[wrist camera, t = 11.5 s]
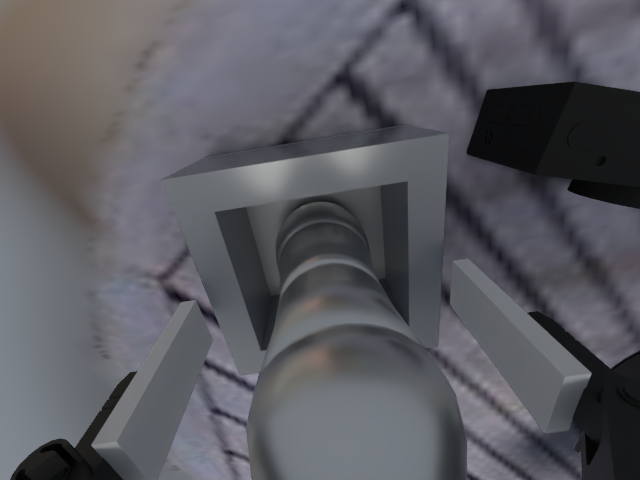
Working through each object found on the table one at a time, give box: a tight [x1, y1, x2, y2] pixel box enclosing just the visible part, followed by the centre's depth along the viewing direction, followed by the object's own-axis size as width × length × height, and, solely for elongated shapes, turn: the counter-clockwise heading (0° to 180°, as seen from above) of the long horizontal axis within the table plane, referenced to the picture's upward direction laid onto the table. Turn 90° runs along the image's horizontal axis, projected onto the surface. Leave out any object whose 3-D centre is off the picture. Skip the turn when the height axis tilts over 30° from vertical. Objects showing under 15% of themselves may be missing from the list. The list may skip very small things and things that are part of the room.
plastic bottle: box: [246, 201, 467, 480], centre depth 13 cm, size 6×7×20 cm
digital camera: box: [467, 82, 640, 209], centre depth 17 cm, size 10×5×7 cm, turn 83°
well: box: [161, 125, 449, 375], centre depth 19 cm, size 14×14×7 cm
